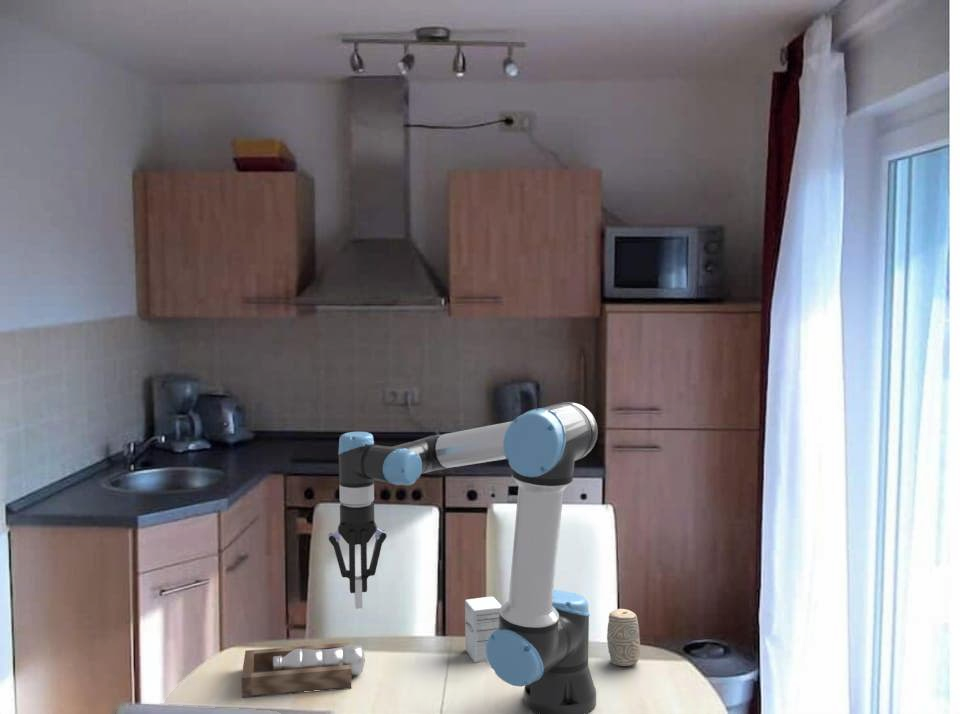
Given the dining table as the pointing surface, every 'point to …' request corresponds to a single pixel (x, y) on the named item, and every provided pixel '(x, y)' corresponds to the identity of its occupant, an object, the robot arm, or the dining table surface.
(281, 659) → the plastic bottle
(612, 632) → the carving
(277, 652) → the wooden tray
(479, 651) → the supplement box
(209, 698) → the dining table surface
